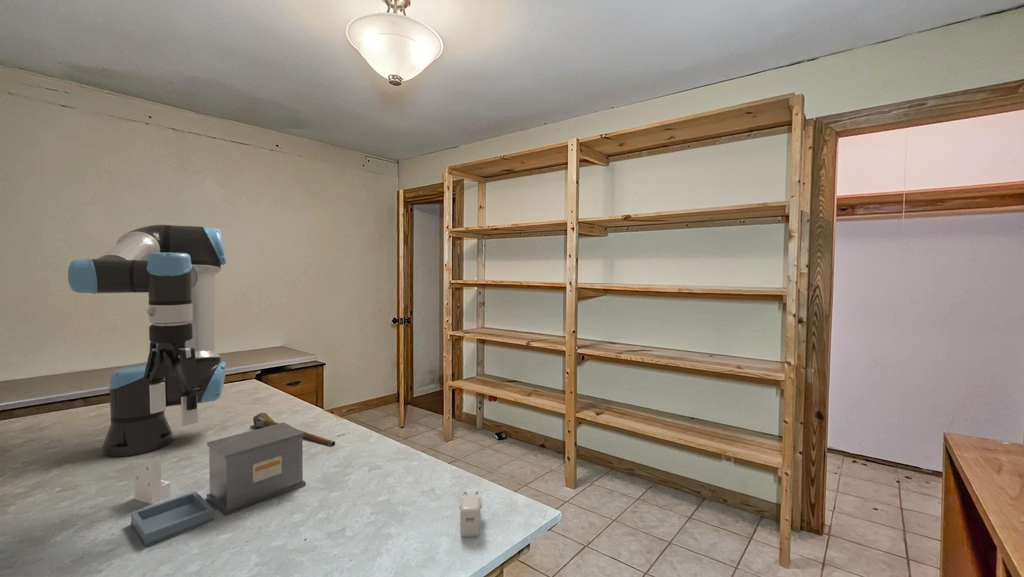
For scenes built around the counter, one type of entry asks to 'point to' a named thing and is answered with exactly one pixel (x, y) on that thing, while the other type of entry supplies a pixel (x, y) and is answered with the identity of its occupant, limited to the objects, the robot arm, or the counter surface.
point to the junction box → (254, 467)
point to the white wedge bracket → (150, 482)
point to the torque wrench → (266, 421)
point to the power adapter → (470, 515)
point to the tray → (171, 518)
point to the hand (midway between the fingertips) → (173, 417)
